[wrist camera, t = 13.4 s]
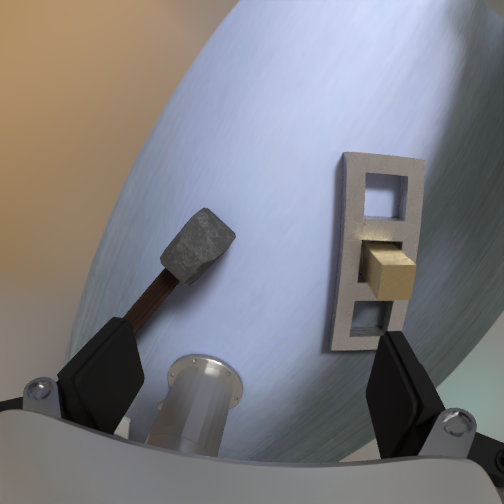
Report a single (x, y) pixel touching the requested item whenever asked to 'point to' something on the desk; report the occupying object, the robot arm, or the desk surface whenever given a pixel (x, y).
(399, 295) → the brass peg
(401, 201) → the white flat frame
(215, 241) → the hammer
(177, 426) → the robot arm
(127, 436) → the external hard drive
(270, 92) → the desk surface
